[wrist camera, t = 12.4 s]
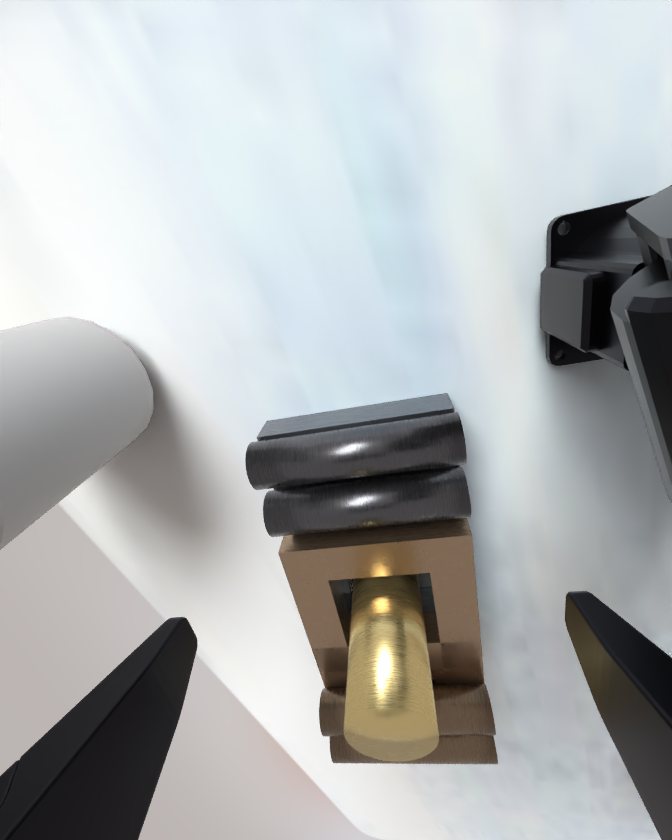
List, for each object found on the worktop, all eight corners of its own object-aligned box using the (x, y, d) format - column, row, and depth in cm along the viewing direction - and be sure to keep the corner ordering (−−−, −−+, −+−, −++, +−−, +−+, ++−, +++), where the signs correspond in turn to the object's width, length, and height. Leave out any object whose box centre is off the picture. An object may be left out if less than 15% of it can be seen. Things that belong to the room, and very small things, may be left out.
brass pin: (412, 532, 24) (434, 706, 15) (419, 579, 26) (443, 762, 17) (349, 538, 25) (335, 708, 16) (360, 583, 26) (353, 761, 17)
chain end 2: (456, 487, 22) (483, 573, 17) (474, 666, 29) (498, 772, 23) (293, 506, 24) (266, 589, 18) (343, 671, 31) (336, 771, 25)
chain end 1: (446, 389, 20) (463, 426, 16) (468, 608, 26) (484, 673, 22) (265, 418, 22) (241, 457, 18) (327, 616, 28) (318, 678, 24)
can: (149, 316, 20) (-121, 405, 9) (172, 443, 23) (-10, 621, 12) (15, 310, 21) (-390, 387, 10) (55, 435, 24) (-217, 598, 13)
